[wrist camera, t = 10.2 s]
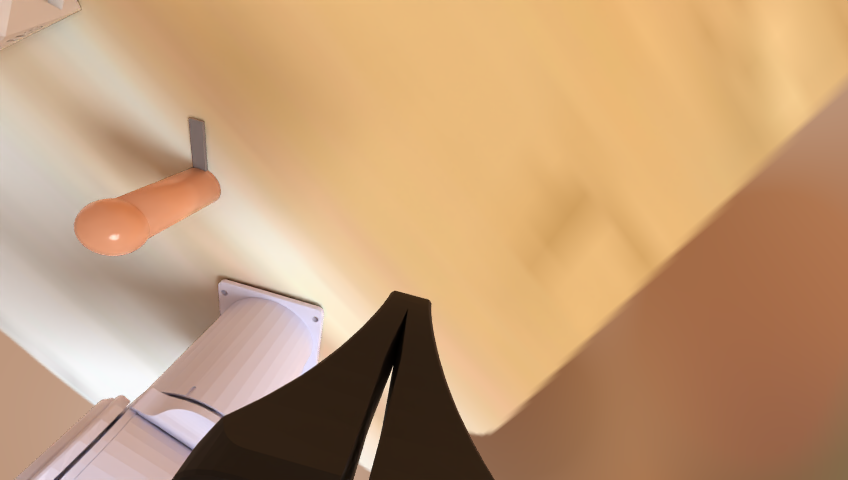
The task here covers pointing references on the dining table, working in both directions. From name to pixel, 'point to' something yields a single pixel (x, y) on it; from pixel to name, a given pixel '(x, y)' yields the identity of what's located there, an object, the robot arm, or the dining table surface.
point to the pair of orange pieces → (149, 205)
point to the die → (31, 17)
